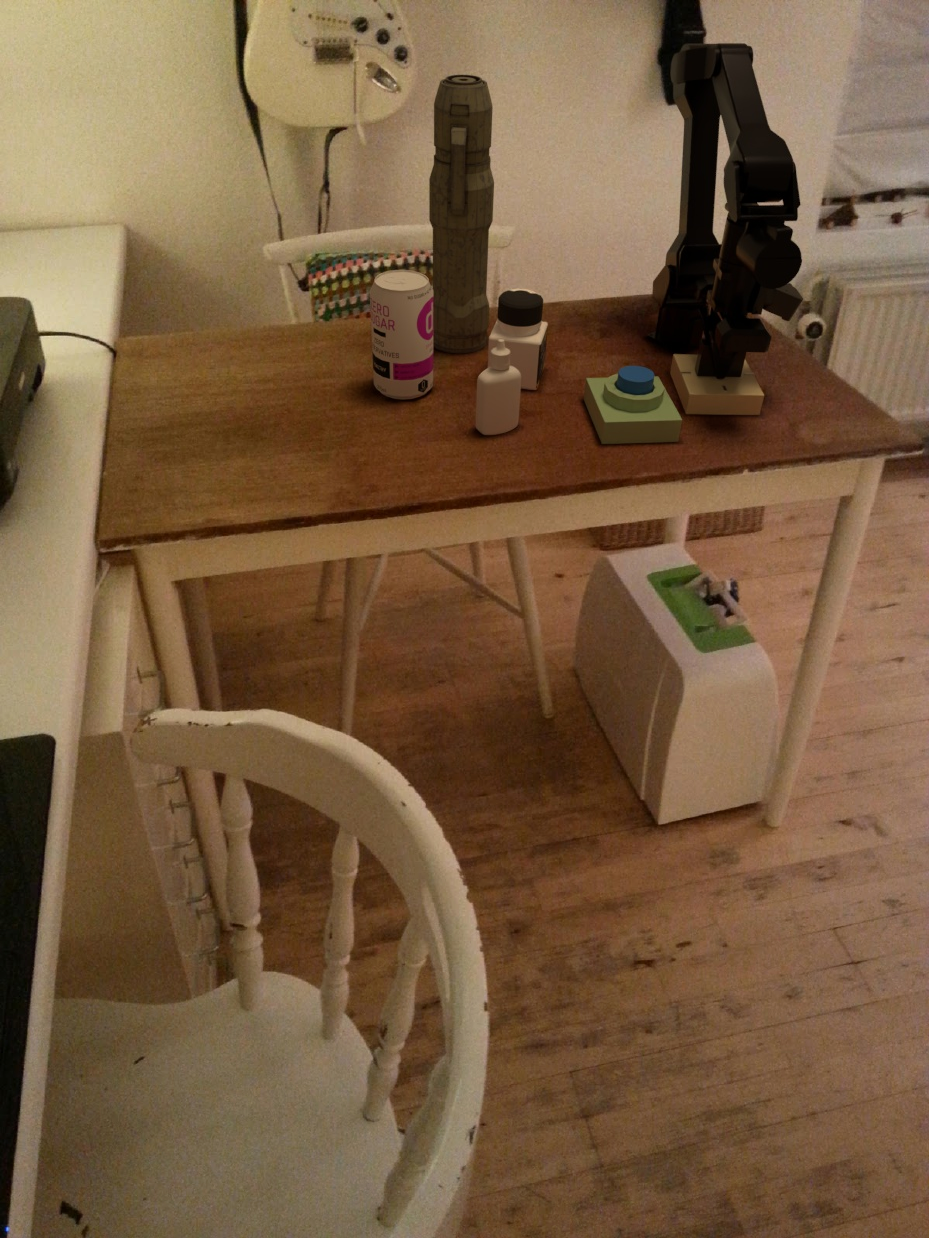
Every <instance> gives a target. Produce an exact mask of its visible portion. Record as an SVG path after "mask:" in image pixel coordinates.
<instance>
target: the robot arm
mask: <svg viewBox="0 0 929 1238" xmlns="http://www.w3.org/2000/svg"><path fill="white" fill-rule="evenodd" d="M753 63H754V50H753V47H752V46H751V45H748V44H747V43H745V42H744V43H743V42H736V43H734V42H718V43H684V44H683V45H682V46H681V49H680V50H679V51H678V52H676V53H674V54H673V56H672V60H671V64H670V81H671V83H672V89H673V90H672V91H673V92H672V95H673V96H672V97H673V98H672V99H673V102H674V103H675V105H676V107H677V108H678V111H679V113H680V115H681V117H682V119H683V137H682V138H683V139H682V140H683V141H682V158H681V177H680V197H679V199H680V200H679V202H680V203H679V217H678V218H679V219H678V233H677V235H676V237H675V238H674V240H673V242H672V244H671V245H670V247H669V248H668V250H667V252H666V255H665V261H664V263H665V264H664V266H663V267H662V269H661V270H660V271H659V273H658V274H657V275H656V277H655V278H654V279H653V281H652V292H651V293H652V294H651V295H652V296H651V297H652V298H653V299H654V301H655V302H656V303H657V305H658V306H659V308H658V314H657V319H656V327H655V331H654V332H650V333H648V334H647V339H648V340H651V341H653V342H655V343H657V344H659V345H660V346H662V347H664V348H666V349H668V350H669V351H670V350H671V351H673V352H674V353H681V352H684V351H687V350H690V349H693V348H696V347H699V345H700V340H701V339H710V344H711V350H712V356H713V363H714V369H715V375H716V378H717V379H724V378H725V377H726V375H727V373H728V371H729V370H730V368H731V366H732V364H733V363H734V361H735V359H736V358H737V356H738V354H739V353H740V352H746V353H767V352H768V351H769V349H770V345H771V342H772V335H771V333H770V331H769V330H768V328H767V326H766V325H765V323H764V322H763V321H762V320H761V318H757V317H755V318H752V317H748V315H749V314H751V315H752V316H753V315H754V316H756V315H757V316H759V315H762V312H763V310H764V311H765V312H768V313H770V314H772V315H774V316H778V317H780V318H781V320H782V321H785V322H790V321H791V320H792V318H793V317H794V315H795V314H796V313H797V311H798V309H799V307H801V306H800V305H801V304H802V302H803V301H804V297H803V296H802V294H801V293H800V292H799V290H798V289H797V288H796V286H793V284H792V283H791V282H792V281H793V280H794V279H795V278H796V276H797V275H798V274H799V272H800V269H801V267H802V263H803V258H802V257H803V256H802V251H801V248H800V246H799V245H798V244H797V243H796V242H795V241H794V240H793V239H792V238H793V233H794V230H793V229H794V228H792V227H791V226H789V225H786V224H785V223H786V222H797V221H798V219H799V211H798V209H799V207H801V197H800V190H799V182H798V174H797V166H796V163H795V161H794V158H793V156H792V155H793V154H792V153H791V151H790V148H789V147H788V144H787V142H786V140H785V139H784V138H783V137H782V136H780V135H779V134H777V133H776V132H775V131H773V130H772V129H771V127H770V125H769V122H768V117H767V114H766V111H765V107H764V103H763V100H762V96H761V92H760V89H759V85H758V81H757V77H756V73H755V69H754V68H753ZM721 120H722V124H723V128H724V132H725V136H726V140H727V144H728V149H729V156H728V157H727V161H726V162H725V165H724V167H723V189H724V190H723V191H724V193H725V194H724V195H725V199H726V202H725V203H724V209H725V211H727V215H726V218H725V225H724V229H723V233H722V239H721V243H719V241H718V239H717V237H716V235H715V233H714V218H715V203H716V200H715V199H716V188H717V187H716V186H717V171H718V154H719V153H718V152H719V140H720V139H719V138H720V137H719V136H720V124H721V123H720V121H721ZM781 201H782V204H768V203H780V202H781ZM760 203H763V204H762V205H761V204H760ZM764 203H767V204H764ZM703 335H704V337H703Z"/></svg>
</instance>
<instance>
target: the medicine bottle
mask: <svg viewBox="0 0 929 1238" xmlns="http://www.w3.org/2000/svg"><path fill="white" fill-rule="evenodd" d="M543 308H544V298H543V297H542V295H541V294H540V293H538V292H536V291H534V290H532V289H528V288H511V289H508V290H505V291H503V292H502V293H501V294H500V295H499V296H498V298H497V316H496V317H497V319H496V320H495V323H494V325H493V328H492V330H491V332H490V335H489V336H488V346H487V347H488V349H487V351H488V352H487V368H489V367H490V360H491V350H492V349H493V348H496V347H497V344H498V340H499V339H503V340H504V343H505V348H507V349H509V350H510V352H511V353H510V366H513V367H515V368H516V369H517V370H519V372H520V374H521V390H529V391H537V390H538V389H539V385H540V381H541V379H542V376H543V373H544V370H545V365H546V364H545V363H546V354H547V353H546V352H547V339H548V328H549V323H548V322H547V321H543V312H544V311H543V310H544V309H543Z"/></svg>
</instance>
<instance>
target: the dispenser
mask: <svg viewBox="0 0 929 1238" xmlns="http://www.w3.org/2000/svg"><path fill="white" fill-rule="evenodd" d="M617 378H618V373H615V374H612V375H610V376H608V377H585V381H584V382H585V383H584V392H583V394H584V395H583V401H584V404H585V407H586V409H587V411H588V414H589V416H590V419H591V421H592V423H593V426H594V428H595V432H596V434H597V436H598V438H599V441H600V443H601V445H615V444H616V445H618V444H619V445H620V444H648V443H649V444H650V443H678V442H679V440H680V435H681V430H682V424H683V419H682V417H681V414H680V413H679V411H678V409H677V407H676V406H675V404H674V402H673V400H672V398H671V396H670V395H669V393H668V392H667V390H666V387H665V386H664V384H663V382H662V380H661V379H660V377H659V376H658V375H657V376H655V375H654V382H653V388H652V392H651V393H649V394H646V395H631V394H626V393H623V392H621V391H620V390H618V389H617V387H616V386H617Z"/></svg>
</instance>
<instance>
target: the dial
mask: <svg viewBox="0 0 929 1238" xmlns="http://www.w3.org/2000/svg"><path fill="white" fill-rule="evenodd" d="M696 355H697V360H696V365H695V372H696V374H697V376H714V377H716V375H715V369H714V363H713V356H712V350H711V344H710V339H705V338H704V339H701V340H700V345H699V346H698V349H697V354H696ZM746 356H747V352H740V353H739V354H738V356H737V358H736V359H735V361H734V363H733V364H732V366H731V368H730V370H729V371H728V373H727V375H726V377H741V374H742V370H743V365H744V361H745V360H746Z"/></svg>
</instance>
